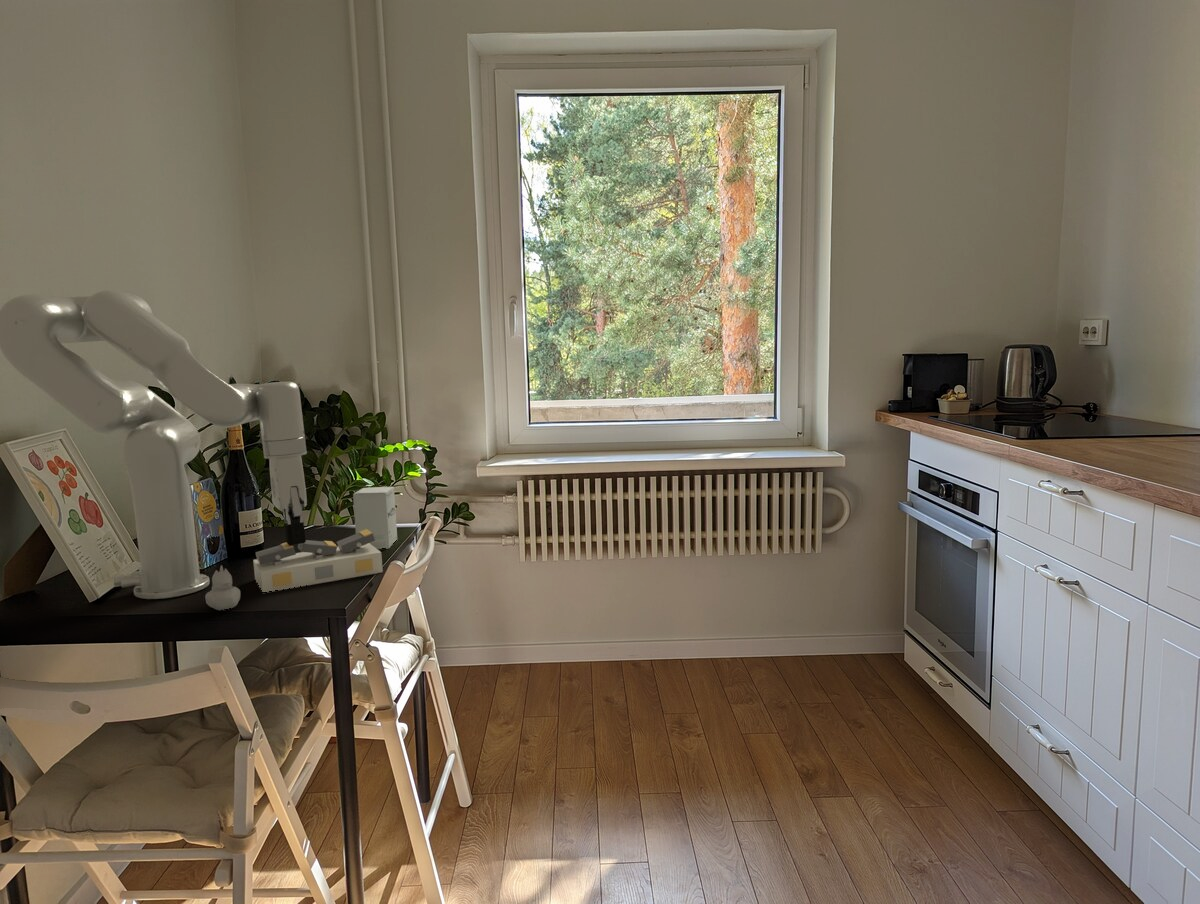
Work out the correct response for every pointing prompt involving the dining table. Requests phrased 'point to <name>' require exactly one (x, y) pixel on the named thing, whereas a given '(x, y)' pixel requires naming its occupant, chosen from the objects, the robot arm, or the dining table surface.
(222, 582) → the rubber duck
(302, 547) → the rocker
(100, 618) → the dining table surface
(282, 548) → the rocker
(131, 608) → the dining table surface
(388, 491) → the supplement box
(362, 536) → the rocker
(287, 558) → the switch console
